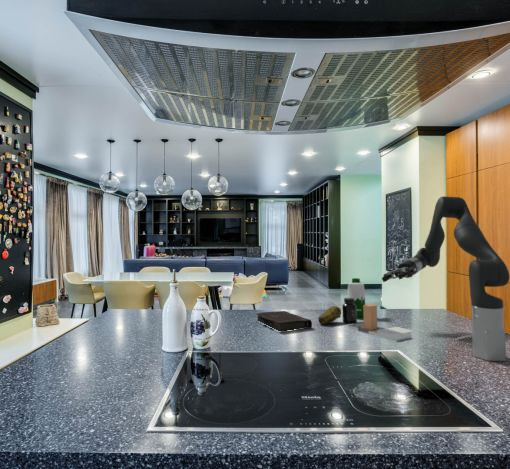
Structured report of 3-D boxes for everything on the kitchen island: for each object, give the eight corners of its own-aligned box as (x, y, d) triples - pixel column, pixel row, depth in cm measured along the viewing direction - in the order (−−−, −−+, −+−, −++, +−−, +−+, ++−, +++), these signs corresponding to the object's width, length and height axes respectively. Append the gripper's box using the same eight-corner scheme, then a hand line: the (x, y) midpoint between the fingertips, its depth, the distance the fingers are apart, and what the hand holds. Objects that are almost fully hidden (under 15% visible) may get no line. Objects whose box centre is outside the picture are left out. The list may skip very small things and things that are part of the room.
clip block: (377, 332, 155) (376, 305, 155) (371, 334, 153) (370, 306, 153) (370, 331, 158) (369, 304, 159) (363, 332, 156) (363, 305, 157)
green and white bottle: (365, 315, 191) (364, 278, 192) (365, 319, 182) (364, 280, 183) (348, 314, 194) (347, 278, 194) (347, 318, 185) (346, 279, 185)
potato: (313, 322, 177) (313, 306, 177) (337, 320, 180) (337, 304, 180) (320, 326, 169) (320, 309, 169) (345, 324, 172) (345, 307, 172)
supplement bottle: (355, 321, 178) (355, 297, 178) (358, 324, 171) (357, 299, 171) (341, 321, 178) (341, 297, 179) (343, 324, 172) (343, 299, 172)
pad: (414, 332, 154) (414, 330, 154) (400, 335, 150) (400, 333, 150) (396, 328, 162) (396, 326, 162) (383, 331, 158) (383, 329, 158)
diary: (285, 319, 188) (285, 310, 188) (312, 329, 165) (312, 319, 165) (253, 322, 180) (253, 312, 180) (276, 334, 157) (276, 322, 157)
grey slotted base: (411, 340, 143) (411, 334, 143) (396, 343, 139) (396, 338, 139) (362, 327, 166) (362, 322, 166) (348, 329, 161) (348, 325, 161)
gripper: (394, 262, 173) (375, 273, 164) (420, 256, 161) (401, 267, 152) (400, 277, 173) (381, 288, 163) (426, 272, 161) (407, 284, 152)
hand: (390, 278), depth 158 cm, fingers open, 8 cm apart
